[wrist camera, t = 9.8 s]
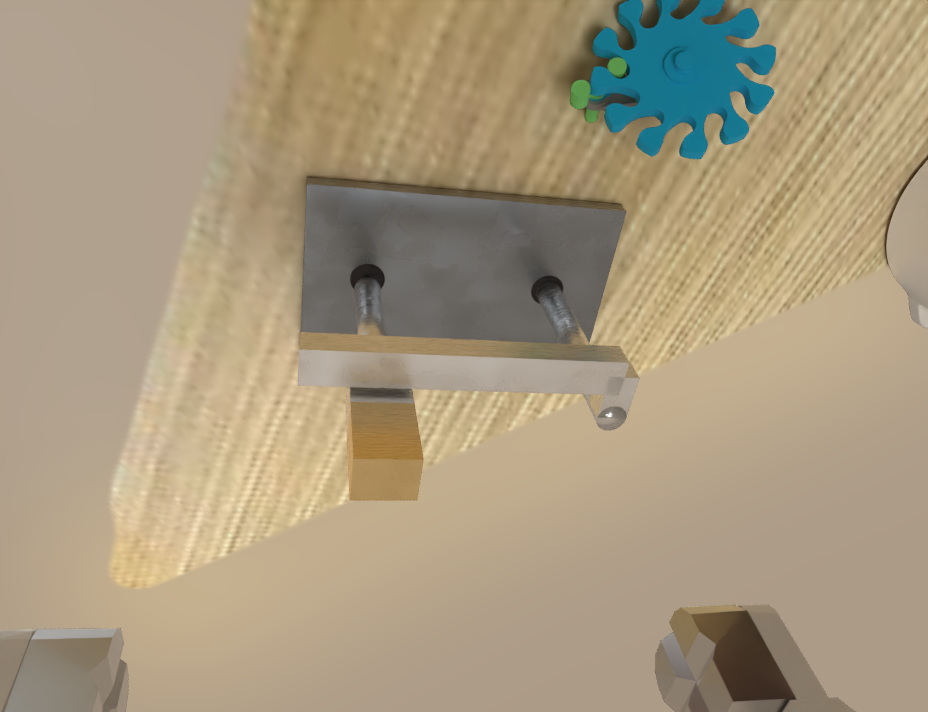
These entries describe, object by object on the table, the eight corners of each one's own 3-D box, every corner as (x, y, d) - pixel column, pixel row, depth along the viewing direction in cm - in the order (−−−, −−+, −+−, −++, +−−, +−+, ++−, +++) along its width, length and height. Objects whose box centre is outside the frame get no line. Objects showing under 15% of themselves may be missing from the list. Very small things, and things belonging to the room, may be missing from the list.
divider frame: (570, 243, 49) (644, 363, 37) (555, 301, 51) (621, 430, 40) (305, 223, 45) (299, 349, 34) (303, 286, 47) (296, 424, 36)
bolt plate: (620, 204, 49) (626, 211, 48) (578, 356, 55) (582, 366, 54) (307, 176, 45) (306, 184, 44) (300, 345, 51) (300, 355, 50)
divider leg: (392, 268, 47) (423, 459, 32) (388, 301, 48) (417, 500, 34) (343, 264, 46) (353, 459, 32) (341, 298, 48) (349, 500, 33)
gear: (765, -37, 40) (797, 136, 39) (734, 28, 46) (761, 181, 45) (560, -10, 41) (582, 162, 39) (555, 52, 47) (574, 203, 45)
